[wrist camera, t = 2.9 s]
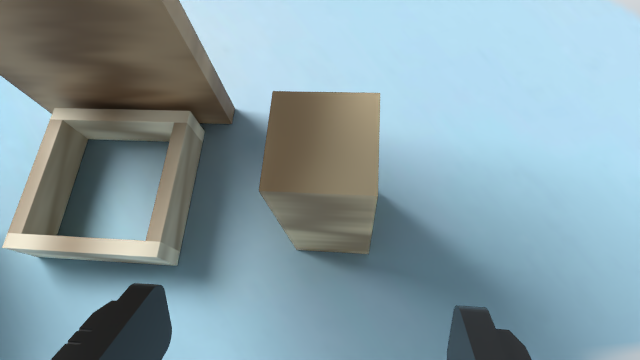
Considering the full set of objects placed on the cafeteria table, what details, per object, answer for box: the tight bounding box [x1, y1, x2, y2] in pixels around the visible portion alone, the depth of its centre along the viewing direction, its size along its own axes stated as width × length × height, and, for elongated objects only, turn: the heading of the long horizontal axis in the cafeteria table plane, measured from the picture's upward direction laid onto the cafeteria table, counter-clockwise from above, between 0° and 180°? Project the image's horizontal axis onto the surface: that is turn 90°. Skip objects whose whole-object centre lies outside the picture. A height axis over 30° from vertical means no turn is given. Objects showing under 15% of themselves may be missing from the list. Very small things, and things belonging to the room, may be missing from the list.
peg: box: [259, 91, 380, 254], centre depth 18 cm, size 4×4×10 cm
